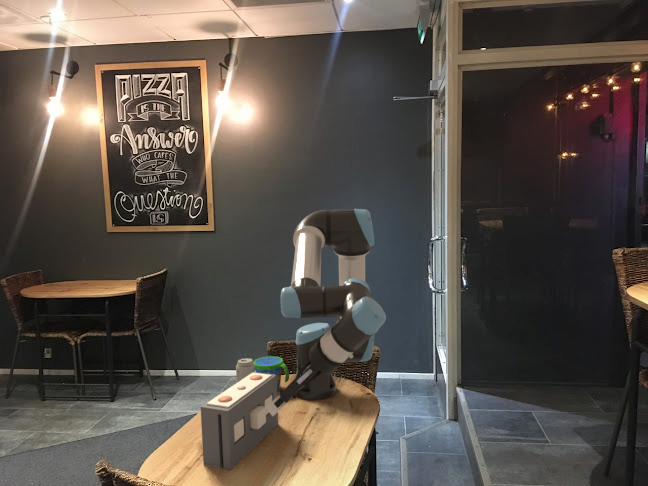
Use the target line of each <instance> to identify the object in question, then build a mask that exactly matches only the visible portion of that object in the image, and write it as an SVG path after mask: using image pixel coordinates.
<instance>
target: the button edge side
mask: <svg viewBox="0 0 648 486" xmlns="http://www.w3.org/2000/svg"><path fill="white" fill-rule="evenodd" d="M243 435H244V422H243V418H241V419H240V420H239V421H237V422H236V423H235V424H234V442H236V441H237V440H238V439H239V438H240V437H242V436H243Z"/></svg>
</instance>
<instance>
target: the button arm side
mask: <svg viewBox="0 0 648 486" xmlns="http://www.w3.org/2000/svg"><path fill="white" fill-rule="evenodd" d="M264 402H265V408H266V407H267V406H268V405H269V404H270V403H271V402H272V395H270V396H268V397H267V398H266V399H265V400H264ZM268 413H269V412H268V410H267V409H266V415H267V414H268Z"/></svg>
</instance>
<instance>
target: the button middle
mask: <svg viewBox="0 0 648 486" xmlns="http://www.w3.org/2000/svg"><path fill="white" fill-rule="evenodd" d="M265 423H266V408H265V407H264V406H256V407H255V408H254V409H252V410H251V411H250V425H251V428H253V429H259V428H260V427H261V426H262V425H264V424H265Z"/></svg>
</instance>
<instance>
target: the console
mask: <svg viewBox="0 0 648 486" xmlns="http://www.w3.org/2000/svg"><path fill="white" fill-rule="evenodd" d="M252 373H257V372H252ZM250 374H251V373H250ZM250 374H249V375H250ZM260 374H265V373H260ZM268 375H272V376H271V377H270V378H269V379H267V380H266V381H264V382H263V383H262V384H260V385H259V386H258V387H256V388H255V389H254V390H252V391H251V392H250V393H248V394H247V395H245V396H244V397H243V398H241V399H240V400H239V401H237V402H236V403H235V404H233V405H232V406H231V407H229V408H224V407H218V406H211V405H207V403H208V402H209V401H211V400H212V399H214V398H215V397H217V396H218V395H220V394H221V393H223V392H224V391H226V390H227V389H229V388H230V387H232V386H233V385H235V384H236V383H238V382H239V381H238V382H237V381H236V383H234V384H233V385H231V386H229V387H228V388H226V389H225V390H223V391H222V392H221V393H219V394H218V395H216V396H215V397H213V398H212V399H210V400H209V401H207V402H205V403H204V404H203V405H201V406H200V419H201V420H200V421H201V422H200V424H201V440H202V443H201V444H202V461H203V465H204V466H208V467H209V466H210V467H213V468H220V469H221V468H222V467H223V470H227V471H231V470H232V469H233V468H234V467H235V466H237V465H238V464H239V462H241V461H242V459H244V458H245V457H246V456H247V455H248V454H249V453H250V452H251V451H252V450H253V449H254V448H255V447H256V446H257V445H258V444H260V442H262V441H263V440H264V439H265V438H266V436H268V435H269V434H270V433H271V432H272V431H273V430H274V429H275V428H276V427H277V426H278V425H279V411H278V412H277V413H276V414H275V415H274V416H272V415H271V414H270V413H268V414H267V415H266V423H265V424H264V425H262V426H261V427H260V428H259V429H253V428H251V425H250V411H251V410H252V409H254V408H255V407H256V406H264V407H265V402H264V400H265V399H266V398H267V397H268V396H270V395H272V401H273V400H274V399H275V398H276V397H277V396H278V389H277V378H276V375H274V374H268ZM247 376H248V375H247ZM247 376H246V377H247ZM244 378H245V377H244ZM244 378H243V379H244ZM241 380H242V379H241ZM241 380H240V381H241ZM241 418H243V422H244V435H243V436H242V437H240V438H239V439H238V440H237V441H236V442H234V424H235V423H236V422H237V421H239V420H240V419H241Z"/></svg>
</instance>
